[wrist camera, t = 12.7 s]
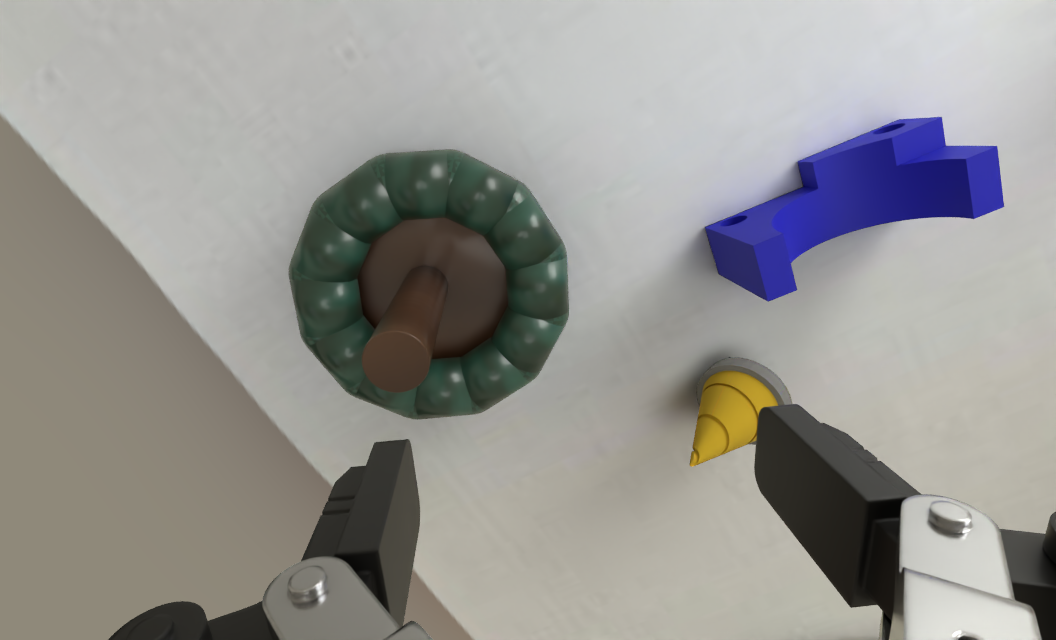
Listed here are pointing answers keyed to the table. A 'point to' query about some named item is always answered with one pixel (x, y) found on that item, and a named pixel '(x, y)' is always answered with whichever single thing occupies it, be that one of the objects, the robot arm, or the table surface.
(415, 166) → the green ring
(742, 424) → the yellow cone
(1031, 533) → the robot arm
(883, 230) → the table surface
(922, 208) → the cable clip
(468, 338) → the stand
